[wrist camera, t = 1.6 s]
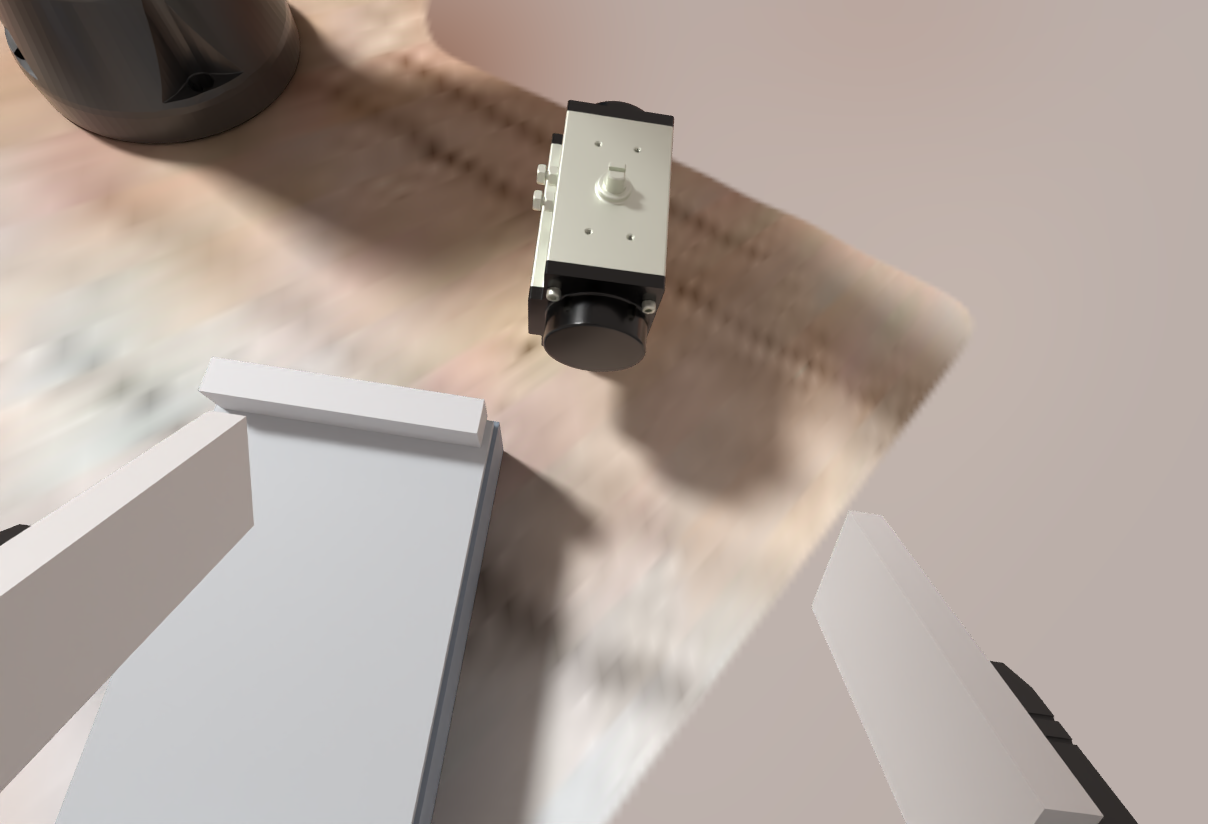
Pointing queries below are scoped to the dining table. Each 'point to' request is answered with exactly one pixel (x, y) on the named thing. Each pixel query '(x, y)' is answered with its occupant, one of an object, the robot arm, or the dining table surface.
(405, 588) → the grey piece
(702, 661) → the dining table surface
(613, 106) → the pneumatic valve
